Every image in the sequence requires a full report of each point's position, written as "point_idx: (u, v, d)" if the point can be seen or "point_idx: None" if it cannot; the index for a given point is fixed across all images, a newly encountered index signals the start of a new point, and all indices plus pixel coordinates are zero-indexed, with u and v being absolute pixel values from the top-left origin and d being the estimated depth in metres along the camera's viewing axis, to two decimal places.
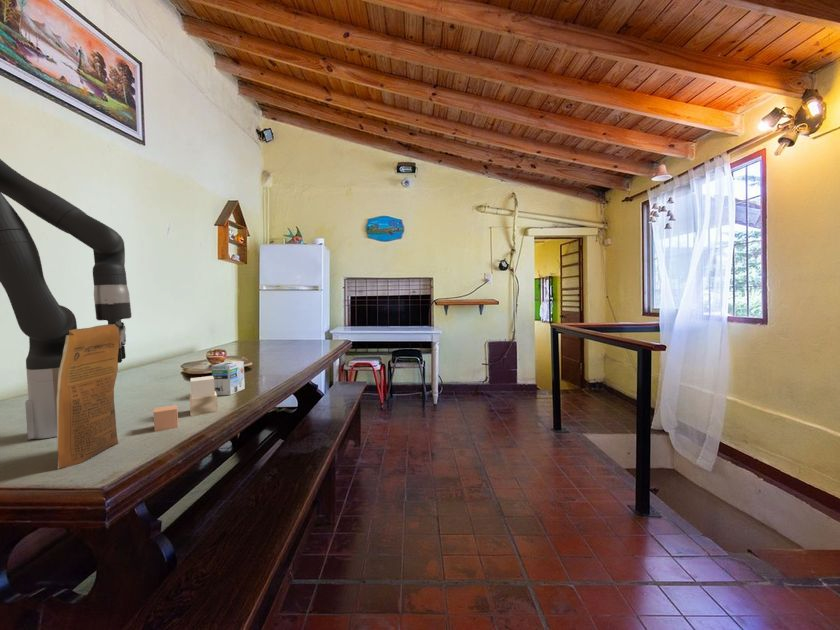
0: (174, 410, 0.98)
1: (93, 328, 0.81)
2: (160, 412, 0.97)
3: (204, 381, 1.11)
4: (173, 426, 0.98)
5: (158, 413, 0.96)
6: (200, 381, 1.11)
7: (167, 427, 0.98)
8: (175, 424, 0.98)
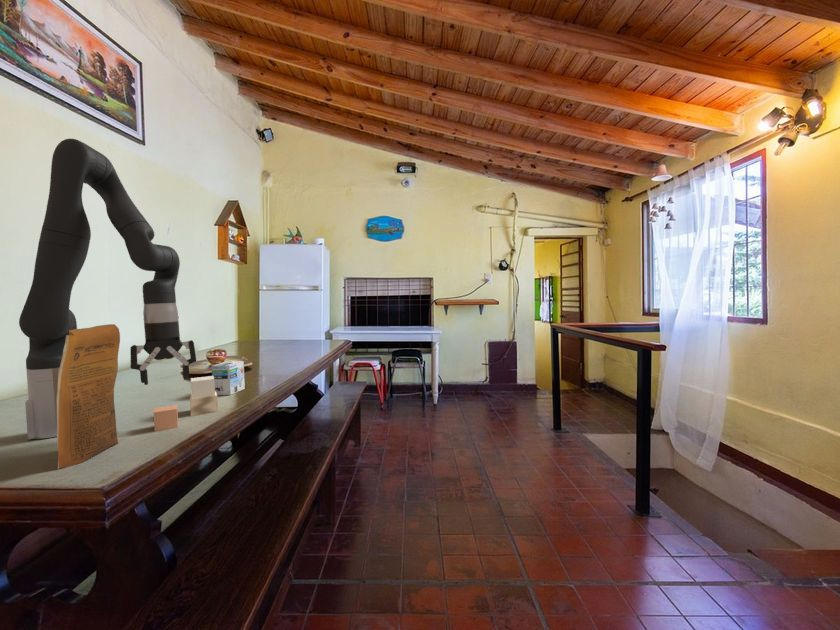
0: (174, 410, 0.98)
1: (93, 328, 0.81)
2: (160, 412, 0.97)
3: (204, 381, 1.11)
4: (173, 426, 0.98)
5: (158, 413, 0.96)
6: (200, 381, 1.11)
7: (167, 427, 0.98)
8: (175, 424, 0.98)
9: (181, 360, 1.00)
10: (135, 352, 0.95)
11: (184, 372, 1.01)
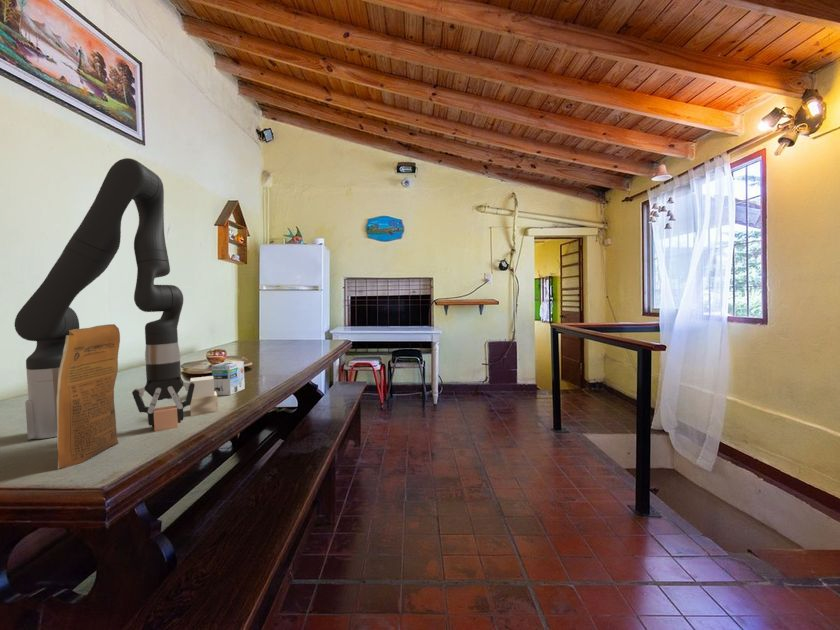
0: (174, 410, 0.98)
1: (93, 328, 0.81)
2: (160, 412, 0.97)
3: (204, 381, 1.11)
4: (173, 425, 0.98)
5: (158, 413, 0.96)
6: (200, 381, 1.10)
7: (167, 427, 0.98)
8: (175, 423, 0.98)
9: (177, 402, 1.00)
10: (138, 396, 0.95)
11: (178, 416, 1.00)
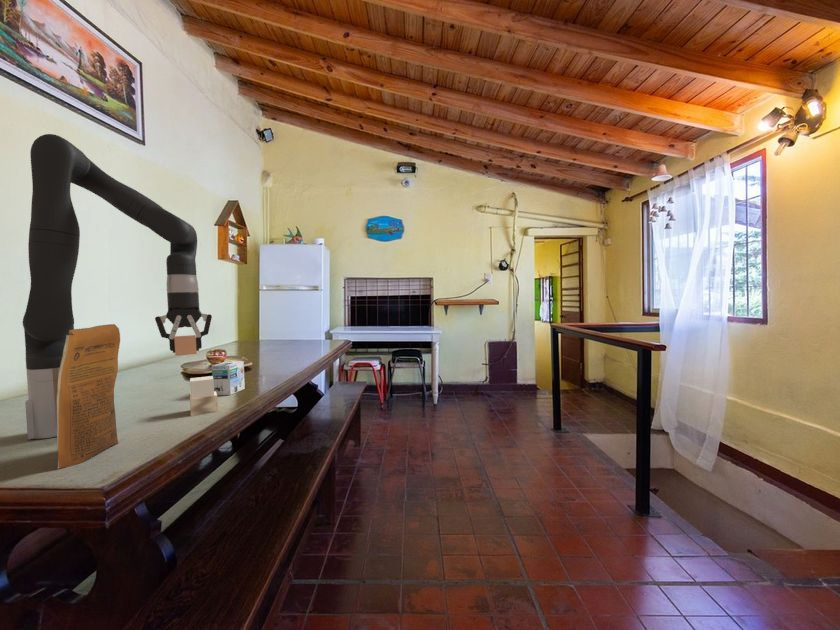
0: (193, 337, 1.05)
1: (93, 328, 0.81)
2: (180, 338, 1.04)
3: (203, 381, 1.11)
4: (192, 351, 1.05)
5: (178, 339, 1.03)
6: (199, 381, 1.10)
7: (187, 352, 1.04)
8: (194, 350, 1.05)
9: (195, 331, 1.07)
10: (160, 322, 1.02)
11: (197, 343, 1.07)
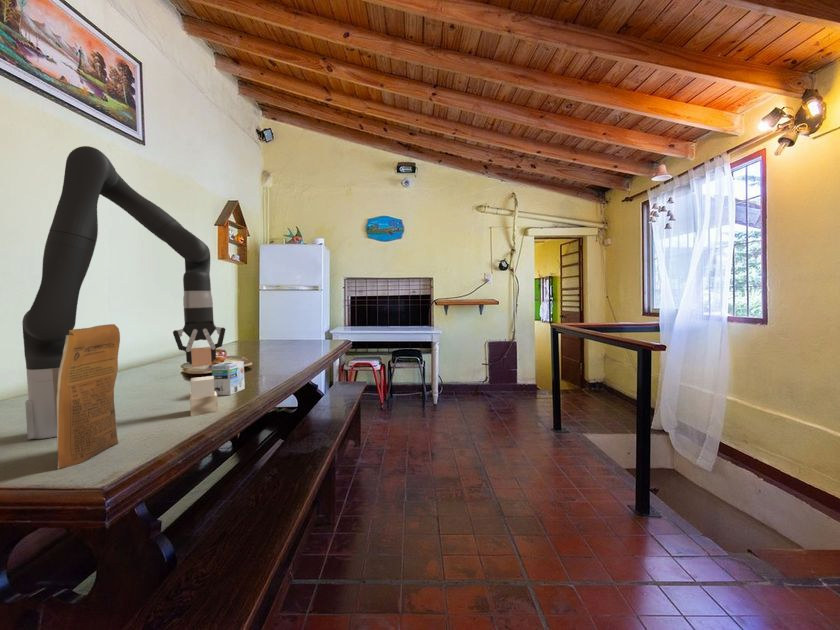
0: (208, 349, 1.12)
1: (93, 328, 0.81)
2: (197, 350, 1.10)
3: (204, 381, 1.11)
4: (208, 363, 1.12)
5: (195, 351, 1.10)
6: (200, 381, 1.10)
7: (202, 364, 1.11)
8: (209, 361, 1.12)
9: (210, 343, 1.13)
10: (178, 335, 1.09)
11: (211, 355, 1.14)
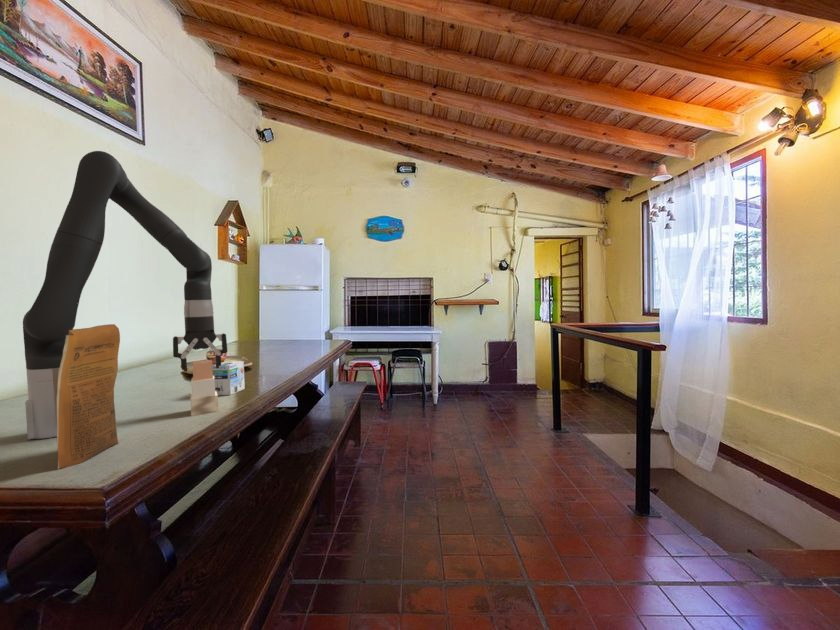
0: (210, 363, 1.12)
1: (93, 328, 0.81)
2: (198, 364, 1.10)
3: (204, 381, 1.11)
4: (209, 376, 1.12)
5: (196, 365, 1.10)
6: (200, 381, 1.10)
7: (204, 377, 1.11)
8: (211, 375, 1.12)
9: (214, 350, 1.14)
10: (177, 342, 1.09)
11: (217, 361, 1.14)
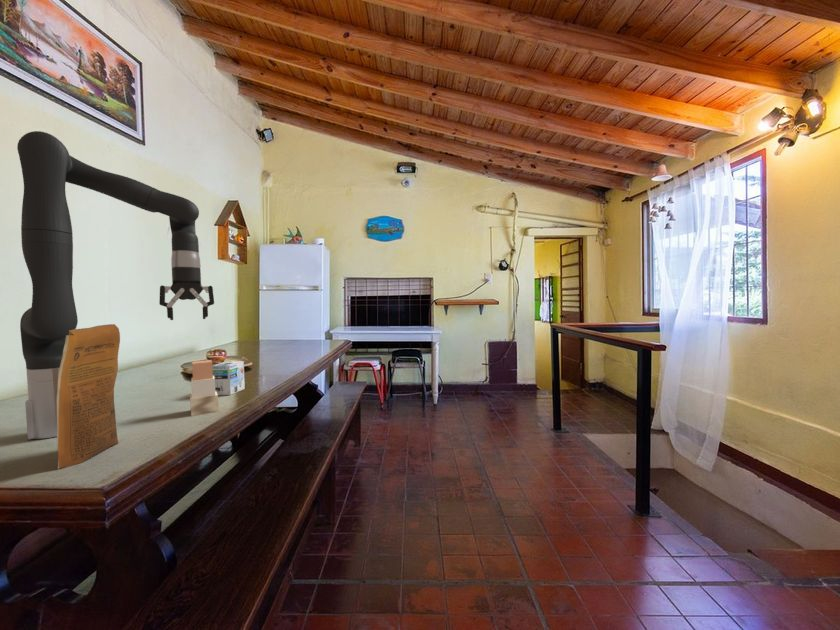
0: (210, 363, 1.12)
1: (93, 328, 0.81)
2: (198, 364, 1.10)
3: (205, 381, 1.11)
4: (209, 376, 1.12)
5: (196, 365, 1.10)
6: (201, 381, 1.11)
7: (204, 377, 1.11)
8: (210, 375, 1.12)
9: (201, 301, 1.17)
10: (163, 291, 1.12)
11: (203, 312, 1.17)
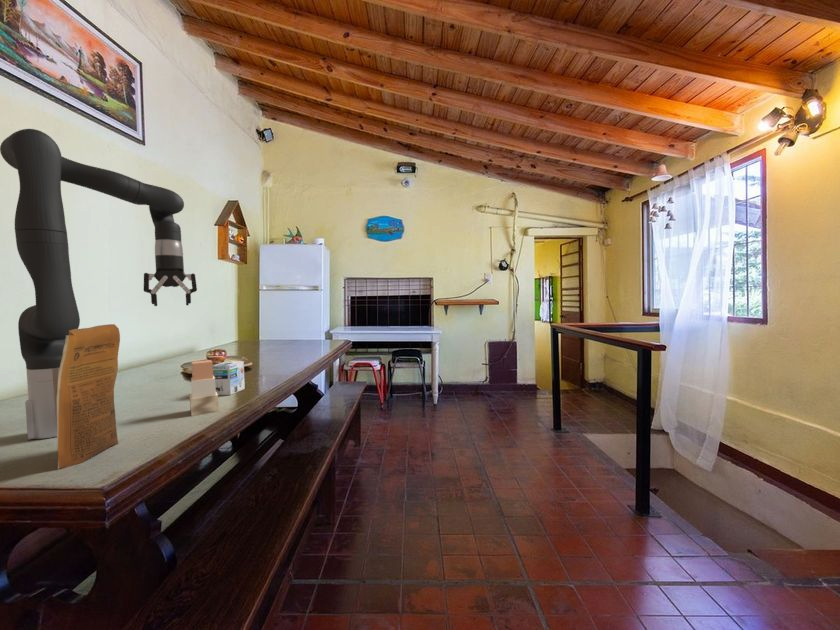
0: (210, 363, 1.12)
1: (93, 328, 0.81)
2: (198, 364, 1.11)
3: (205, 381, 1.11)
4: (209, 376, 1.12)
5: (197, 365, 1.10)
6: (201, 381, 1.11)
7: (204, 377, 1.11)
8: (211, 375, 1.12)
9: (184, 288, 1.22)
10: (147, 278, 1.17)
11: (187, 299, 1.23)
